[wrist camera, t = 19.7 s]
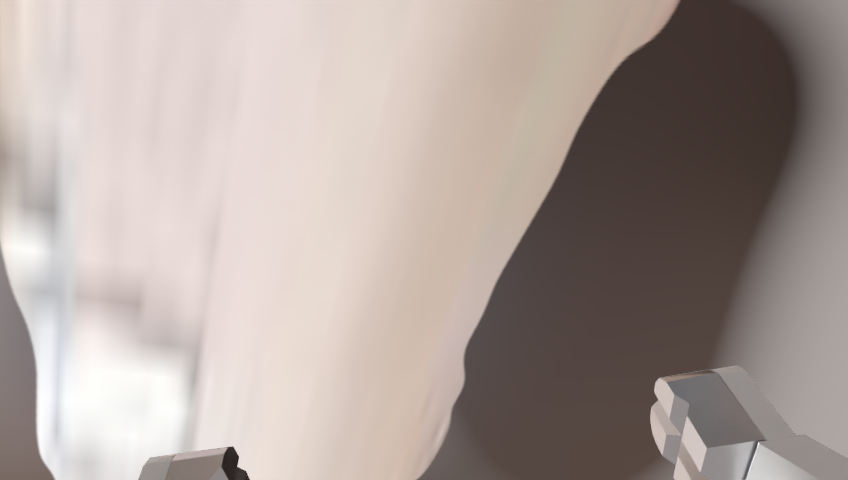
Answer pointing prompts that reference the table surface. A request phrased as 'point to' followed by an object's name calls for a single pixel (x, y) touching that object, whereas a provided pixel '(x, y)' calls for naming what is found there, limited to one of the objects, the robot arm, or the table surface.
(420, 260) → the table surface
